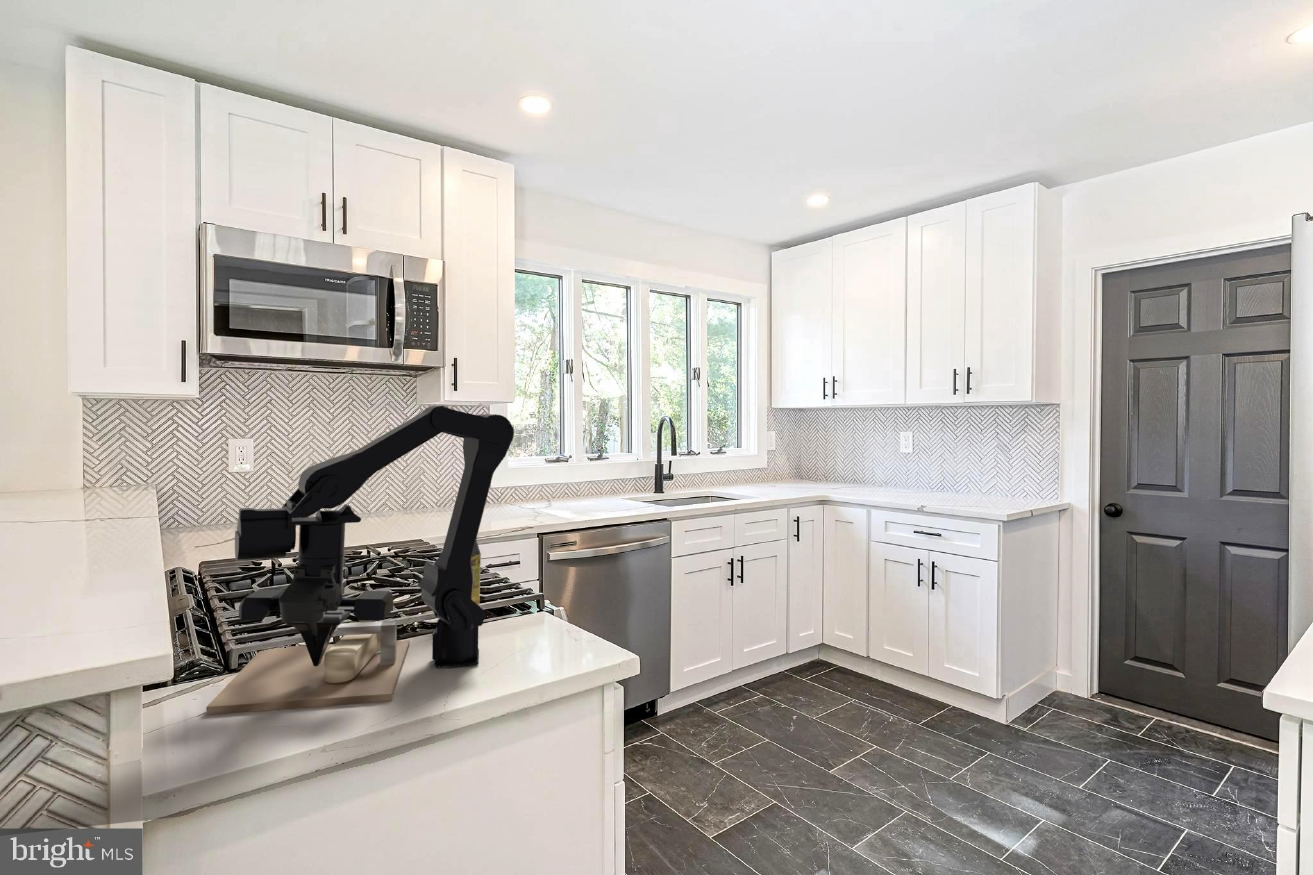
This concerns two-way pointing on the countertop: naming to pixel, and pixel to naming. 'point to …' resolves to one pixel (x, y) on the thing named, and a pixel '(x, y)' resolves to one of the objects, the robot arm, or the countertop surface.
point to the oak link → (349, 656)
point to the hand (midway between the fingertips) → (316, 665)
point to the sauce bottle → (476, 573)
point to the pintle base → (314, 676)
